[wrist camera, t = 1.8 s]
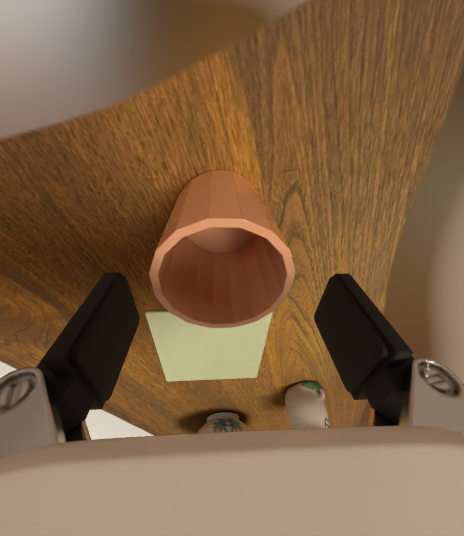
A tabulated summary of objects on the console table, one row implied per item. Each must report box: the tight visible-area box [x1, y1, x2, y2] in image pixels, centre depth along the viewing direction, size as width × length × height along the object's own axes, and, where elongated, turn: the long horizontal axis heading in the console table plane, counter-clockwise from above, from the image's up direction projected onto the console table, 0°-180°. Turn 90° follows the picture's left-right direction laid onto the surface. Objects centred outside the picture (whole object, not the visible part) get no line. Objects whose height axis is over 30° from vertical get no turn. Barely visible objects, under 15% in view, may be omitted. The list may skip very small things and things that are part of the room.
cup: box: [149, 170, 295, 328], centre depth 13 cm, size 7×7×8 cm
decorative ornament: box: [285, 381, 329, 429], centre depth 32 cm, size 9×7×15 cm
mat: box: [145, 311, 273, 381], centre depth 28 cm, size 16×14×1 cm
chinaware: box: [196, 412, 251, 434], centre depth 41 cm, size 15×15×8 cm
